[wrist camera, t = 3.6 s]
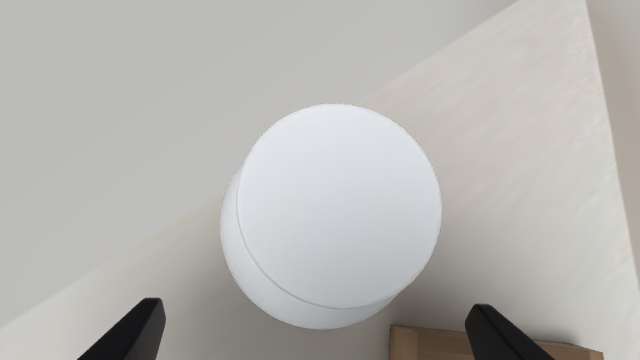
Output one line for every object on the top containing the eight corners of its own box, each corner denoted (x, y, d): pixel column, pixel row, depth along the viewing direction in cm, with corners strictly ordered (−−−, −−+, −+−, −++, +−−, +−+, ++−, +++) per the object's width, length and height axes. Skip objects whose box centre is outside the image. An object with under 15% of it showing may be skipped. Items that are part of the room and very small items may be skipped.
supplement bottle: (376, 224, 20) (529, 160, 8) (321, 321, 18) (409, 443, 6) (288, 168, 20) (299, 20, 8) (225, 258, 18) (113, 246, 6)
